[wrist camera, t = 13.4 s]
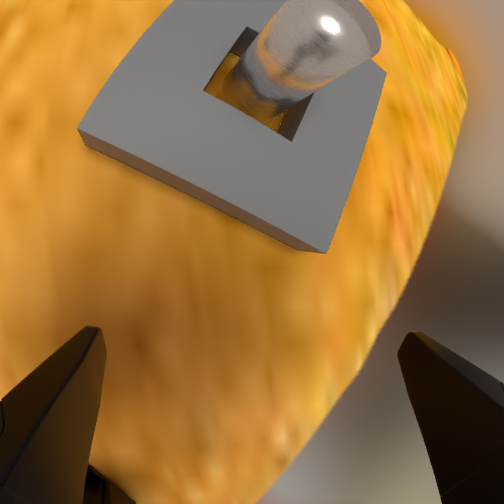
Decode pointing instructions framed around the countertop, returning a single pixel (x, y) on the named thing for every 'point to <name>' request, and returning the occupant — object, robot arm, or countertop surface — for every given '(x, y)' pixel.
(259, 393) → the countertop surface
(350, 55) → the peg
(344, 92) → the socket block
